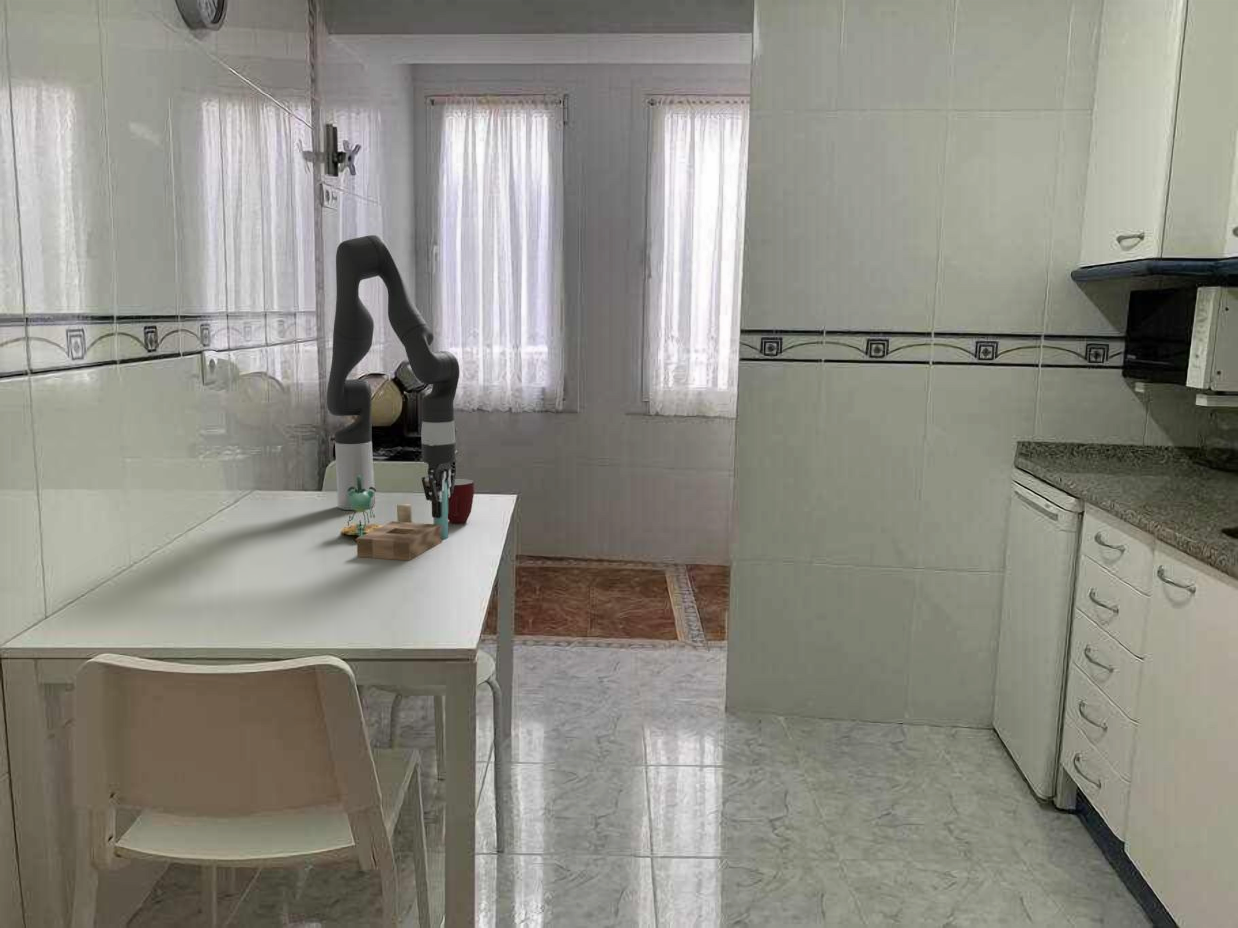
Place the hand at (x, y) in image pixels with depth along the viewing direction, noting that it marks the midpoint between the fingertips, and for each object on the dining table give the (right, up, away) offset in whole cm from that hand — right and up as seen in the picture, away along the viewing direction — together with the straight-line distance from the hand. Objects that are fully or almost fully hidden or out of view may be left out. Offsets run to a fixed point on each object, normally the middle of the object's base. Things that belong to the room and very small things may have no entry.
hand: (440, 515), depth 220 cm
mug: (+2, -3, +15) cm, 15 cm away
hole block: (-7, -7, -10) cm, 14 cm away
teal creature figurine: (-19, -5, +3) cm, 20 cm away
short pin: (-9, -5, +3) cm, 10 cm away
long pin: (0, -5, +1) cm, 5 cm away
